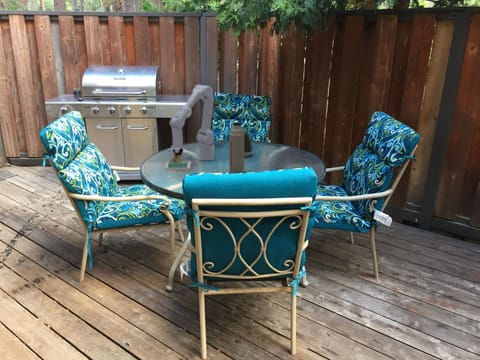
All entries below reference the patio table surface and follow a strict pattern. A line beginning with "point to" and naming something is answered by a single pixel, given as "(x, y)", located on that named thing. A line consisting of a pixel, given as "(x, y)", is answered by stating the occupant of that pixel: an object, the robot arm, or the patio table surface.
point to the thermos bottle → (236, 148)
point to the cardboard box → (176, 159)
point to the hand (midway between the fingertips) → (178, 161)
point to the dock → (178, 165)
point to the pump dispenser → (247, 145)
